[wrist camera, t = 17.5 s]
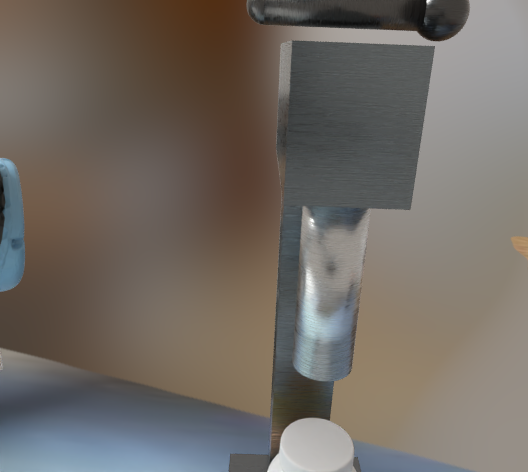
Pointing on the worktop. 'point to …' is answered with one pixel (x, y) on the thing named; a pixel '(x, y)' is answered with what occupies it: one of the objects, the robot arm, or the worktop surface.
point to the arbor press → (338, 181)
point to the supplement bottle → (314, 448)
